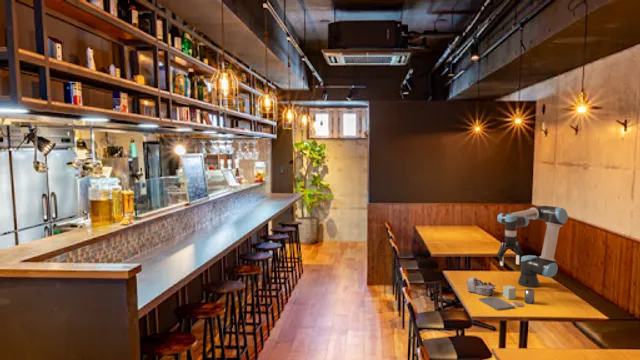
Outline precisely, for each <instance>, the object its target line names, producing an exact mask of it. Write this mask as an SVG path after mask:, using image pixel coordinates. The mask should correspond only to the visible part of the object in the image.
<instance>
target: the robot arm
mask: <svg viewBox="0 0 640 360" xmlns="http://www.w3.org/2000/svg"><path fill="white" fill-rule="evenodd" d="M568 217H569V216H568V212H567V210H566V209H565V208H563V207H560V206H551V205H539V206H533V207H530V208H529V209H525V210H524V209H523V210H520V211H515V212H510V213H505V212H504V213H501V212H500V213H499V214H497V222H498V223H500V224H502V225H505V226H504V227H505V229H504V241H505V242H500V247H499V248H498V251H497V253H496V256H498V257H499V258H498V260H499V265H500V266H501V267H504V255H505V254H506V252H507V251H508V250H511V249H512V250H513V251H514V252H515V264H516V265H519V266H520V275H519V277H518V279H517V284H518V285H520V286H523V287H526V288H538V287H540V281H539V278H538V275H539V276H542V277H544V278H545V277H546V278H549V279H550V278H553V277H554V276H556V275H557V272H558V269H559V267H558V264H557V263H556V259H555V254H556V249H557V248H556V247H557V243H558V238H559V234H560V233H559V232H560V228H561V227H563V224H566V223H567V221H568ZM530 220H542V221H545V224H546V229H545V234H544V239H543V245H542V250H541V255H540V256H536V255H531V254H530V255H529V254H528V255H524V252H523V251H522V248H521V243H520V242H519V241H517V229H518V228H520V227H521V228H523V227H527V226H528V225H529V224H530ZM522 255H523V256H522Z"/></svg>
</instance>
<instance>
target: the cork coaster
mask: <svg viewBox="0 0 640 360" xmlns="http://www.w3.org/2000/svg"><path fill="white" fill-rule="evenodd" d="M510 304H511V305H513V306H515V308H516V307H517V308H522V307H524V306H525V305H524V303H522V302H520V301H511V302H510Z"/></svg>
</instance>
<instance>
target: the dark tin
mask: <svg viewBox="0 0 640 360" xmlns="http://www.w3.org/2000/svg"><path fill="white" fill-rule="evenodd" d="M524 303H525V304H527V305H534V304H535V290H534V289H532V288H525V289H524Z"/></svg>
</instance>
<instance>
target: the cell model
mask: <svg viewBox="0 0 640 360" xmlns="http://www.w3.org/2000/svg"><path fill="white" fill-rule="evenodd" d="M496 286H497V285H496V284H494V283H491V282H490V281H489V282H488V283H487V281H486V282H483V281H482V280H481V279H478V278H477V277H474V276H473V277H468V279H467V280H466V287H467V292H469V293H474V294H476V295H482V296H487V297H488V296H489V297H490V295H494V294H493V293H495V290H496Z"/></svg>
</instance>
